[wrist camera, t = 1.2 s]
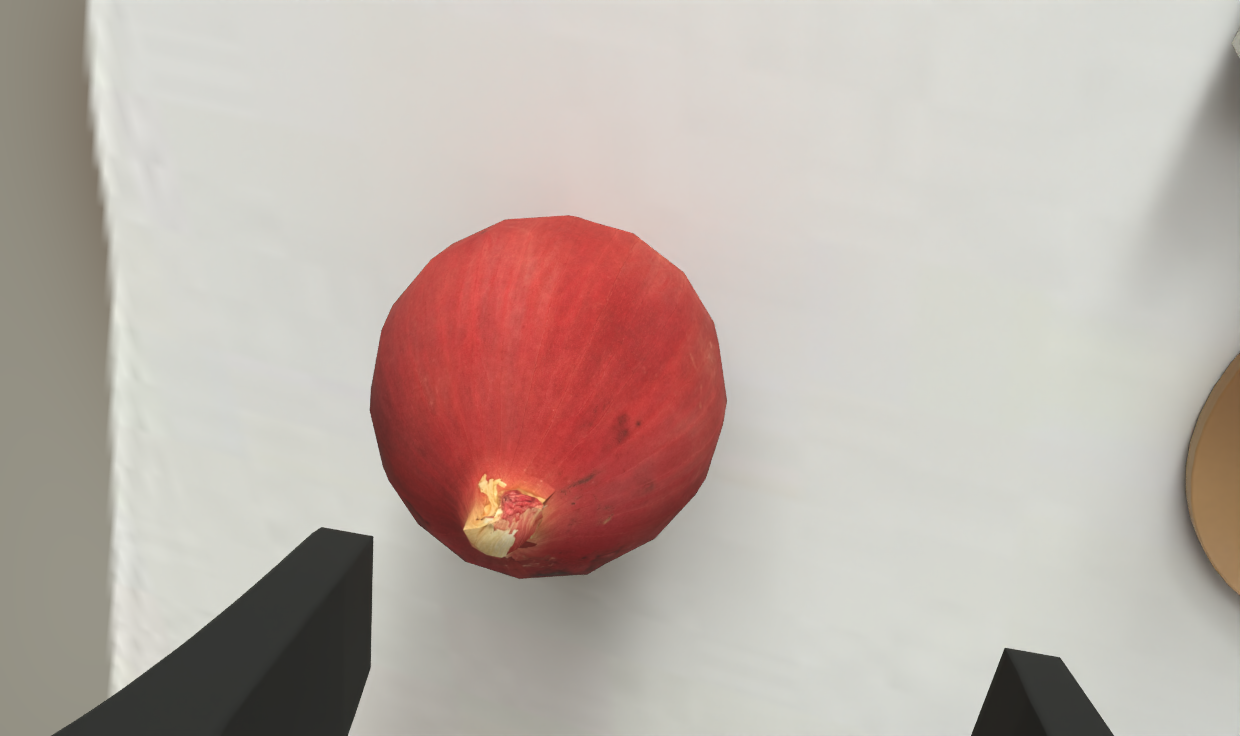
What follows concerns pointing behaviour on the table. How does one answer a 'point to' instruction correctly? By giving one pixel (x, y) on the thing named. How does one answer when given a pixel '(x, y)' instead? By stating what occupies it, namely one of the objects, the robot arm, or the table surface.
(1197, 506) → the coaster
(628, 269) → the onion
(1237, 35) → the packaged product
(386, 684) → the table surface
